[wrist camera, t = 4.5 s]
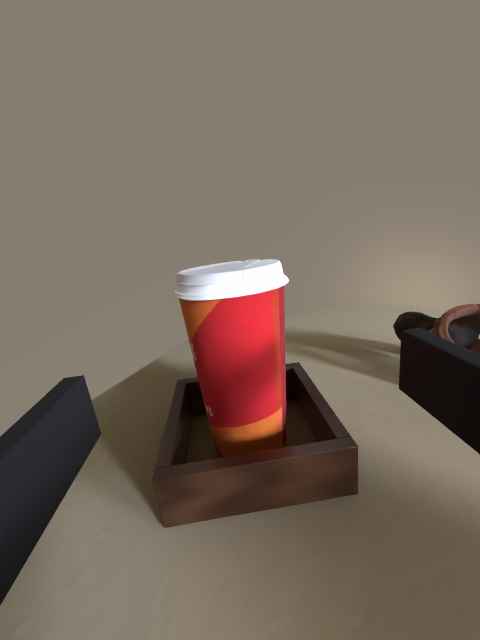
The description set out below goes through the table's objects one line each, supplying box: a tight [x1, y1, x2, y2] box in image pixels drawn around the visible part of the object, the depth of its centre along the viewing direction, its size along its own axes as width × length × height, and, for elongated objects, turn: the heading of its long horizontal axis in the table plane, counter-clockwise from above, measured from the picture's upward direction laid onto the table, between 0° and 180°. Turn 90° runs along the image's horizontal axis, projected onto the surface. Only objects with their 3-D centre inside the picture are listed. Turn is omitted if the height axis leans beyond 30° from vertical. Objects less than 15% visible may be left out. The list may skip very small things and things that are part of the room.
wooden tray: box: [152, 362, 358, 528], centre depth 22 cm, size 12×12×4 cm
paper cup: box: [173, 259, 289, 458], centre depth 21 cm, size 8×8×14 cm
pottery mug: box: [393, 304, 480, 354], centre depth 28 cm, size 12×10×8 cm
